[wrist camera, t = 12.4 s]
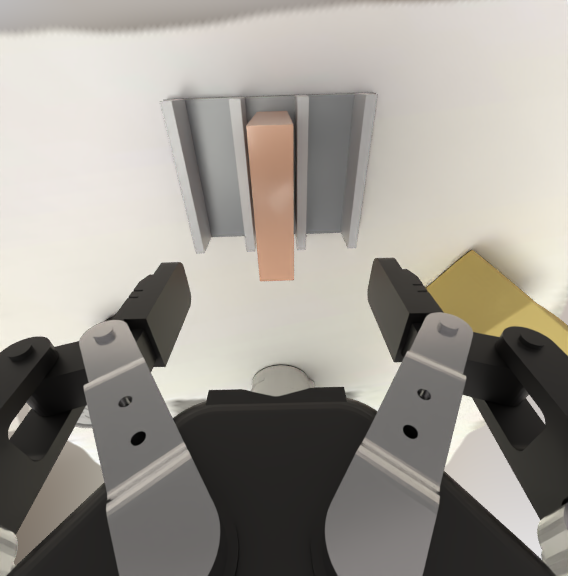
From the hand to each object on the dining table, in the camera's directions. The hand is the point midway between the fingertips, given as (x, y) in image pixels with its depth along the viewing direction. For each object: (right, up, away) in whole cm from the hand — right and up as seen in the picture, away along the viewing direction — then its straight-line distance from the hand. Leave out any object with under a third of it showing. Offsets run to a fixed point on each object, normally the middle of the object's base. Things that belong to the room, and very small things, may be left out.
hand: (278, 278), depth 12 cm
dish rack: (-1, +11, +15) cm, 18 cm away
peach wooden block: (-1, +10, +14) cm, 17 cm away
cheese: (+23, -1, +24) cm, 33 cm away
